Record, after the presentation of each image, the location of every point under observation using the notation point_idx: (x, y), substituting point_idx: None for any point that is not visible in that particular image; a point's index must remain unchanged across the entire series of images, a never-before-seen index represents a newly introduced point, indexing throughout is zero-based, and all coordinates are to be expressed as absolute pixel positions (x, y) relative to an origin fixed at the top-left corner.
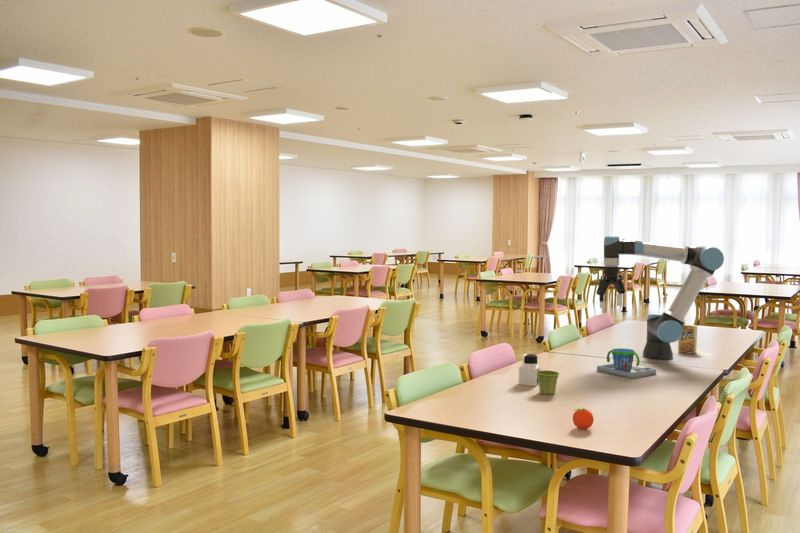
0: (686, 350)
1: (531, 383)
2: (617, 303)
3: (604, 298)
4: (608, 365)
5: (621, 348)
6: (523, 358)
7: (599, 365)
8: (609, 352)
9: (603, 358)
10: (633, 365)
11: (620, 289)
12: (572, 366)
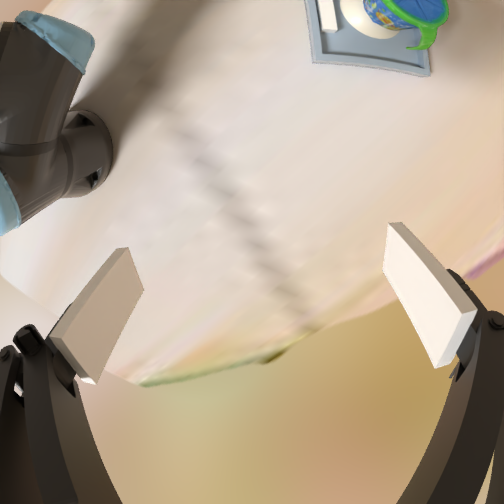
0: None
1: None
2: (132, 297)
3: (451, 282)
4: (388, 61)
5: (396, 7)
6: None
7: (421, 73)
8: (431, 38)
9: (249, 200)
10: (326, 6)
11: (40, 393)
12: (430, 161)
